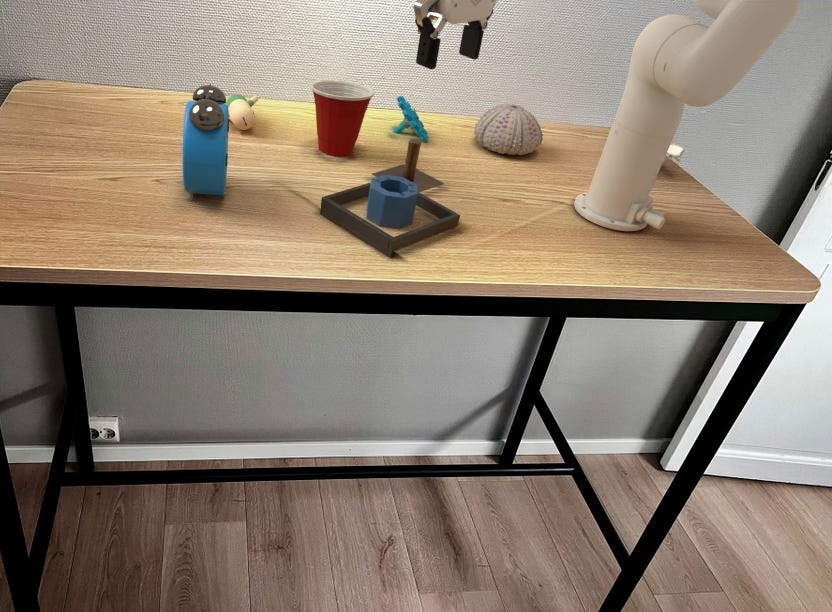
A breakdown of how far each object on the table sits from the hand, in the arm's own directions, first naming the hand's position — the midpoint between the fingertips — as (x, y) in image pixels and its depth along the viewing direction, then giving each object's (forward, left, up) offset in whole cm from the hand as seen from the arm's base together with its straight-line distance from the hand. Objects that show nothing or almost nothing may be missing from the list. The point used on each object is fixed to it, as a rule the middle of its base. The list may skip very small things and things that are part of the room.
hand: (447, 61), depth 103 cm
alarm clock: (+21, +26, -23) cm, 41 cm away
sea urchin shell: (+9, -36, -23) cm, 43 cm away
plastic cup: (+22, -2, -23) cm, 32 cm away
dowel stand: (+7, -5, -23) cm, 24 cm away
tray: (-1, +8, -23) cm, 24 cm away
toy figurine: (+41, +5, -23) cm, 47 cm away
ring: (-1, +8, -22) cm, 24 cm away
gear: (+21, -21, -23) cm, 37 cm away
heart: (-11, -56, -23) cm, 61 cm away
